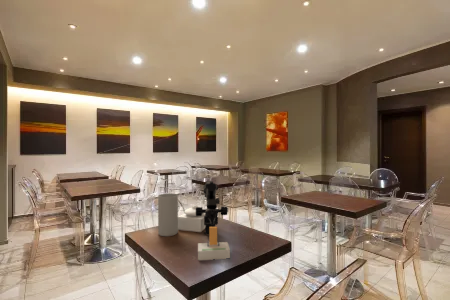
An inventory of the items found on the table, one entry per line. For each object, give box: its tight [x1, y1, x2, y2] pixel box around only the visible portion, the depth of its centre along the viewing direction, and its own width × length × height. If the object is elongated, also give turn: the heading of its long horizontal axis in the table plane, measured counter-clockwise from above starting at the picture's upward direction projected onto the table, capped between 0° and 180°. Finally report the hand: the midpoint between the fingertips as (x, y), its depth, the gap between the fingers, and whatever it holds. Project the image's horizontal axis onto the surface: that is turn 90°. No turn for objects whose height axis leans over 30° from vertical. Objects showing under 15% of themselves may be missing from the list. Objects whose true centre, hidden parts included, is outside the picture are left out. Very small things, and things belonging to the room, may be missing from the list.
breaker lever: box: [208, 226, 218, 245], centre depth 126 cm, size 2×4×9 cm, turn 97°
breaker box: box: [197, 241, 231, 261], centre depth 125 cm, size 10×16×6 cm, turn 96°
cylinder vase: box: [157, 192, 179, 237], centre depth 156 cm, size 12×12×25 cm
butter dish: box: [178, 204, 206, 233], centre depth 169 cm, size 18×18×16 cm
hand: (212, 224), depth 134 cm, fingers closed
